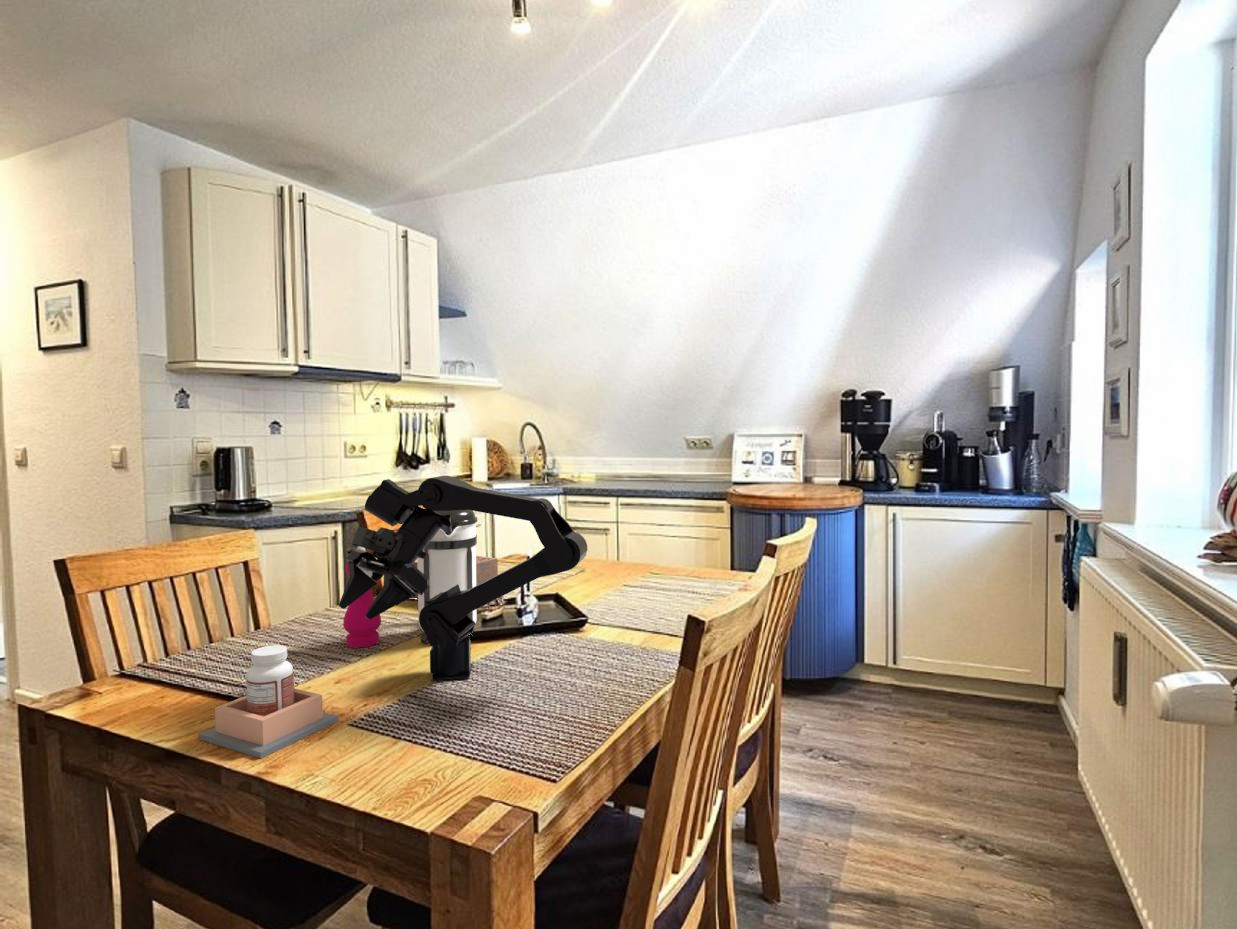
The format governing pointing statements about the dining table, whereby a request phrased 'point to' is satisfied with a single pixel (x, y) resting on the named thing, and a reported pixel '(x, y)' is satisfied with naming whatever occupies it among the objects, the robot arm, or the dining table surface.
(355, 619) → the pepper mill
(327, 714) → the bottle stand
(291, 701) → the pill bottle
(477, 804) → the dining table surface
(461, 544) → the coffee press
